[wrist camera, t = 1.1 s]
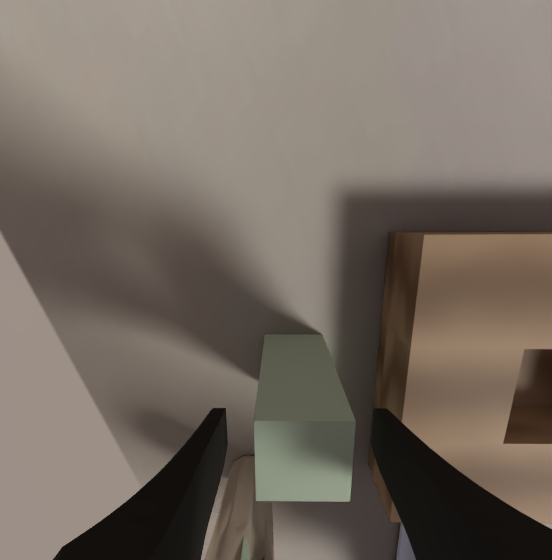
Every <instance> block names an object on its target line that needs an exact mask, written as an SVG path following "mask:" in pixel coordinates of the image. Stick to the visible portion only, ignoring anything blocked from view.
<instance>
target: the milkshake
mask: <svg viewBox="0 0 552 560" xmlns="http://www.w3.org/2000/svg"><path fill="white" fill-rule="evenodd" d="M204 560H275V559H274V536H273V512H272V501H256V480H255V456H242V457H241V458H239V459H237V460H236V461H234V462H233V463H232V466H231V470H230V473H229V476H228V479H227V483H226V487H225V490H224V494H223V498H222V501H221V505H220V509H219V512H218V516H217V520H216V523H215V527H214V531H213V534H212V538H211V541H210V544H209V547H208V550H207V553H206V556H205V559H204Z"/></svg>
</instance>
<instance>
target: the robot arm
mask: <svg viewBox="0 0 552 560" xmlns="http://www.w3.org/2000/svg"><path fill="white" fill-rule="evenodd" d="M227 444H228V442H227V425H226V408H213V409H212V410H211V411H210V412H209V414H208V415H207V416H206V418H205V419H204V421H203V422H202V423H201V425H200V426H199V427H198V429H197V430H196V431H195V432H194V434H193V435H192V436H191V437H190V439H189V440H188V441H187V442H186V443H185V445H184V446H183V447H182V448H181V449H180V450H179V451H178V453H177V454H176V455H175V456H174V457H173V458H172V459H171V460H170V461H169V462H168V464H167V465H166V466H165V467H164V468H163V469H162V470H161V471H160V472H159V473H158V474H157V475H156V476H155V477H154V478H152V479H151V480H150V481H149V482H148V483H147V484H146V485H145V486H144V487H143V488H141V489H140V490H139V491H138V492H137V493H136V494H135V495H134V496H132V497H131V498H130V499H129V500H128V501H126V502H125V503H124V504H123V505H121V506H120V507H119V508H118V509H116V510H115V511H114V512H112V513H111V514H110V515H108V516H107V517H106V518H104V519H103V520H102V521H100V522H99V523H97V524H96V525H95V526H93V527H92V528H90V529H89V530H87V531H86V532H84V533H83V534H81V535H80V536H78V537H77V538H75V539H74V540H72V541H71V542H69V543H68V544H66V545H65V546H63V547H62V548H61V550H60V551H59V552H58V554H57V555H56V557H55V558H54V559H53V560H201V555H202V550H203V545H204V540H205V535H206V531H207V527H208V523H209V519H210V515H211V512H212V508H213V504H214V501H215V497H216V494H217V490H218V486H219V483H220V479H221V475H222V471H223V468H224V462H225V456H226V450H227ZM371 446H372V449H373V453H374V456H375V459H376V462H377V465H378V468H379V471H380V473H381V475H382V478H383V480H384V482H385V485H386V487H387V489H388V492H389V494H390V496H391V498H392V501H393V503H394V505H395V508H396V510H397V512H398V514H399V517H400V519H401V521H402V523H401V525H400V533H399V540H398V548H397V556H396V560H552V529H550V528H548V527H546V526H545V525H543V524H541V523H539V522H538V521H536V520H534V519H532V518H531V517H529V516H527V515H525V514H524V513H522V512H520V511H518V510H517V509H515V508H514V507H512V506H510V505H509V504H507V503H505V502H504V501H502V500H501V499H499V498H498V497H496V496H494V495H493V494H491V493H490V492H488V491H487V490H485V489H484V488H482V487H481V486H479V485H478V484H476V483H475V482H474V481H472V480H471V479H469V478H468V477H467V476H465V475H464V474H463V473H461V472H460V471H458V470H457V469H456V468H454V467H453V466H452V465H451V464H449V463H448V462H447V461H445V460H444V459H443V458H442V457H441V456H439V455H438V454H437V453H436V452H434V451H433V450H432V449H431V448H430V447H429V446H427V445H426V444H425V443H424V442H423V441H422V440H421V439H419V438H418V437H417V436H416V435H415V434H414V433H413V432H412V431H411V430H410V429H408V428H407V427H406V426H405V425H404V424H403V423H402V422H401V421H400V420H399V419H398V418H397V417H396V416H395V415H394V414H392V413H391V412H390V411H389V410H388V409H387V408H374V414H373V425H372V436H371Z"/></svg>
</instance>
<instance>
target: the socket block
mask: <svg viewBox="0 0 552 560" xmlns="http://www.w3.org/2000/svg"><path fill="white" fill-rule="evenodd" d="M374 408H387V409H388V410H389V411H390V412H391V413H392V414H394V415H395V416H396V417H397V418H398V419H399V420H400V421H401V422H402V423H403V424H404V425H405V426H406V427H407V428H408V429H410V430H411V431H412V432H413V433H414V434H415V435H416V436H417V437H418V438H419V439H421V440H422V441H423V442H424V443H425V444H426V445H427V446H429V447H430V448H431V449H432V450H433V451H434V452H436V453H437V454H438V455H439V456H441V457H442V458H443V459H444V460H445V461H447V462H448V463H449V464H451V465H452V466H453V467H454V468H456V469H457V470H458V471H460V472H461V473H463V474H464V475H465V476H467V477H468V478H469V479H471V480H472V481H474V482H475V483H476V484H478V485H479V486H481V487H482V488H484V489H485V490H487V491H488V492H490V493H491V494H493V495H494V496H496V497H498V498H499V499H501V500H502V501H504V502H505V503H507V504H509V505H510V506H512V507H514V508H515V509H517V510H518V511H520V512H522V513H524V514H525V515H527V516H529V517H531V518H532V519H534V520H536V521H538V522H539V523H541V524H552V231H488V232H389V239H388V250H387V261H386V272H385V284H384V295H383V306H382V317H381V328H380V339H379V350H378V361H377V373H376V384H375V395H374V406H373V414H374ZM372 425H373V417H372ZM371 436H372V428H371ZM368 465H369V468H370V470H371V473H372V476H373V478H374V481H375V484H376V487H377V489H378V492H379V495H380V497H381V500H382V503H383V505H384V508H385V511H386V513H387V516H388V519H389V521H390V522H394V523H402V521H401V519H400V517H399V514H398V512H397V510H396V508H395V505H394V503H393V501H392V498H391V496H390V494H389V492H388V489H387V487H386V485H385V482H384V480H383V478H382V475H381V473H380V471H379V468H378V465H377V462H376V459H375V456H374V453H373V449H372V446H371V439H370V451H369V462H368Z"/></svg>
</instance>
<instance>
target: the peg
mask: <svg viewBox="0 0 552 560" xmlns="http://www.w3.org/2000/svg"><path fill="white" fill-rule="evenodd" d="M355 427H356V420H355V418H354V415H353V412H352V410H351V407H350V405H349V402H348V400H347V397H346V394H345V392H344V389H343V387H342V384H341V382H340V379H339V376H338V374H337V371H336V369H335V366H334V364H333V361H332V359H331V356H330V353H329V351H328V348H327V346H326V343H325V341H324V338H323V335H322V334H265V336H264V344H263V352H262V360H261V368H260V376H259V384H258V392H257V400H256V408H255V416H254V445H255V480H256V501H328V502H350V495H351V481H352V468H353V454H354V441H355Z"/></svg>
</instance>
